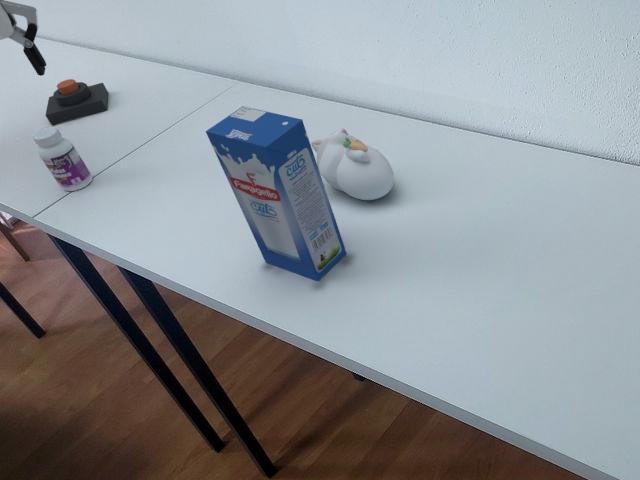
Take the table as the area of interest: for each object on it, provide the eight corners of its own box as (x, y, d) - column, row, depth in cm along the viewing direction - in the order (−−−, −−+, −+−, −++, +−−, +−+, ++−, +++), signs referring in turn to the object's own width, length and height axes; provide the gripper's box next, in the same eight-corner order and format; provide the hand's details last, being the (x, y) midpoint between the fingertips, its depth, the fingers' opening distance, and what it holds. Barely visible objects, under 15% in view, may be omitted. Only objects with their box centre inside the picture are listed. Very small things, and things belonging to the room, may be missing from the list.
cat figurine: (387, 143, 88) (312, 108, 94) (357, 193, 88) (285, 155, 94) (416, 175, 97) (346, 141, 103) (389, 220, 97) (320, 183, 103)
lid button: (61, 97, 127) (55, 89, 126) (62, 90, 130) (57, 82, 128) (79, 92, 128) (74, 84, 127) (80, 85, 130) (75, 77, 129)
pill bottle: (58, 195, 109) (22, 144, 102) (66, 178, 112) (32, 127, 105) (89, 188, 109) (56, 137, 102) (97, 172, 112) (65, 121, 105)
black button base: (51, 125, 128) (39, 106, 125) (55, 106, 134) (43, 88, 131) (107, 110, 129) (96, 91, 126) (108, 92, 135) (98, 73, 132)
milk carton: (265, 262, 89) (204, 131, 74) (294, 236, 92) (242, 105, 78) (318, 281, 85) (265, 146, 70) (347, 254, 88) (302, 119, 73)
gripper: (-2, -68, 88) (69, 56, 101) (-136, -37, 86) (-46, 86, 98) (-10, -55, 83) (66, 74, 96) (-153, -22, 81) (-55, 107, 93)
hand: (10, 80), depth 97 cm, fingers open, 9 cm apart
